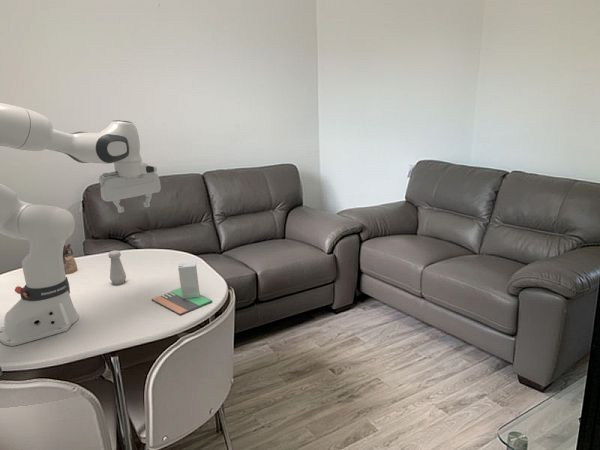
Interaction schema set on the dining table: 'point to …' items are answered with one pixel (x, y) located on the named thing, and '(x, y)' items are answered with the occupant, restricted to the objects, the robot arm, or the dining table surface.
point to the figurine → (69, 260)
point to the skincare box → (189, 280)
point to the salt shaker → (116, 268)
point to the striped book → (180, 302)
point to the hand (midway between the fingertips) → (134, 209)
